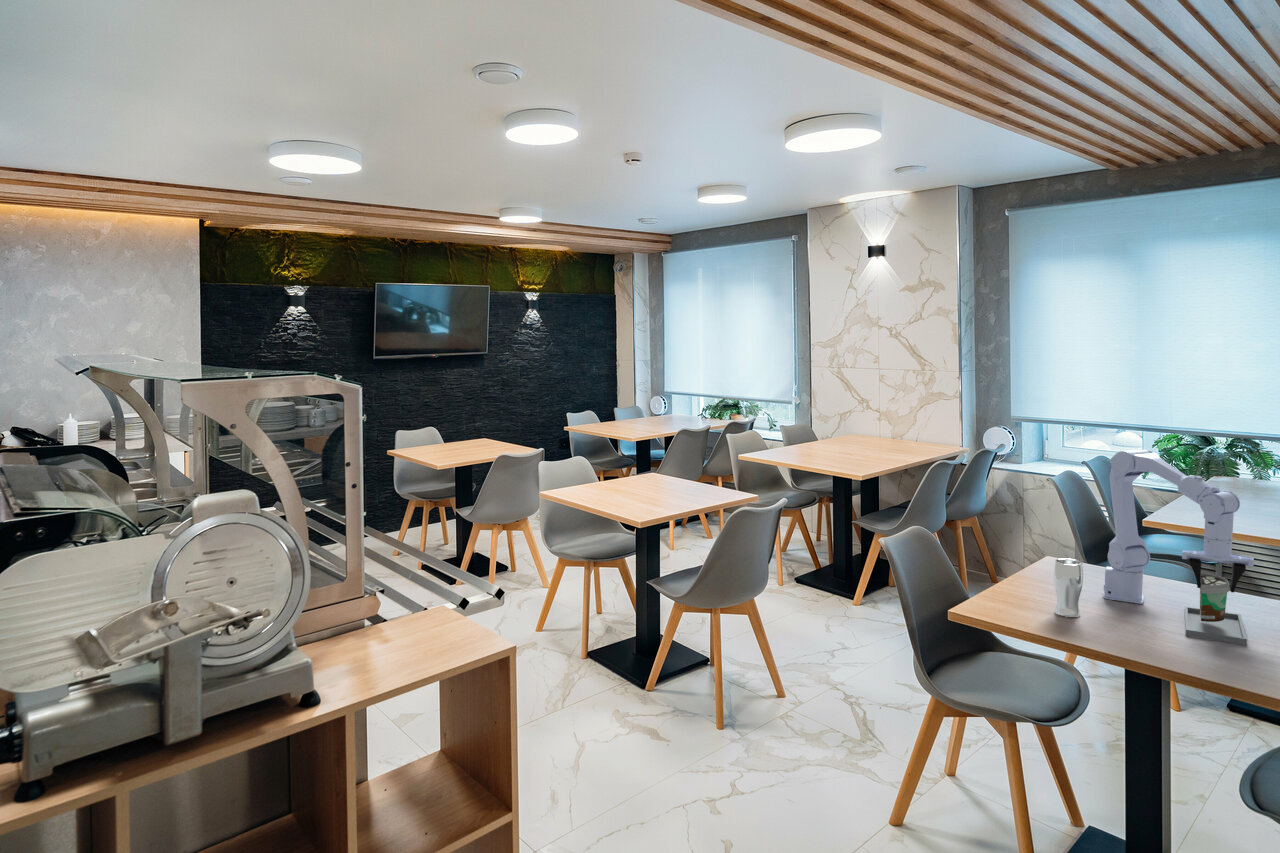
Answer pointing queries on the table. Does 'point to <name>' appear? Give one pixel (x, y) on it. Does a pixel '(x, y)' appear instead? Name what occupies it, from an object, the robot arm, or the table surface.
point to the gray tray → (1215, 627)
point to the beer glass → (1068, 586)
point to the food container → (1213, 597)
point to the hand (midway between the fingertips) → (1215, 589)
